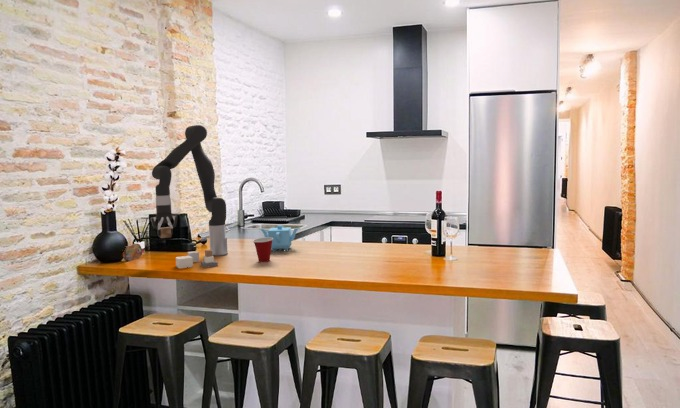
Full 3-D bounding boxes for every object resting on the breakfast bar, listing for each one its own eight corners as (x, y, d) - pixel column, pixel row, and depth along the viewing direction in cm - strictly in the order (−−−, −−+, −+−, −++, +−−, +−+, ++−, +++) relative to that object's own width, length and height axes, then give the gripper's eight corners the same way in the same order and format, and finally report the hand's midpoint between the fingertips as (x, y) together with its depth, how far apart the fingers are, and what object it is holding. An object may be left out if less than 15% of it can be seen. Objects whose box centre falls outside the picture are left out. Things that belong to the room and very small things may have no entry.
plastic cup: (250, 260, 274) (249, 238, 273) (267, 258, 280) (266, 236, 279) (259, 263, 265) (258, 241, 264) (277, 260, 271) (276, 238, 270)
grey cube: (197, 260, 281) (196, 251, 280) (199, 261, 276) (198, 252, 276) (187, 261, 278) (187, 252, 278) (189, 262, 274) (189, 253, 274)
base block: (189, 264, 268) (189, 255, 268) (193, 267, 262) (192, 257, 261) (176, 266, 265) (175, 257, 264) (179, 268, 258) (178, 259, 258)
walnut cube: (169, 236, 273) (169, 226, 273) (171, 237, 269) (170, 227, 268) (159, 237, 271) (159, 227, 270) (161, 238, 266) (160, 228, 266)
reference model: (214, 263, 268) (213, 248, 268) (217, 266, 262) (217, 250, 262) (200, 265, 265) (200, 250, 264) (204, 267, 259) (203, 252, 258)
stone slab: (126, 262, 280) (125, 247, 279) (121, 262, 281) (120, 246, 280) (142, 256, 295) (141, 242, 294) (137, 256, 295) (136, 242, 295)
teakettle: (277, 253, 293) (276, 228, 292) (258, 250, 306) (257, 225, 305) (302, 249, 306) (301, 224, 305) (283, 245, 320) (282, 222, 318)
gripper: (176, 202, 275) (177, 233, 276) (148, 204, 268) (150, 236, 269) (178, 203, 268) (180, 235, 270) (150, 205, 261) (152, 238, 263)
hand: (165, 235), depth 270 cm, fingers closed on walnut cube, 5 cm apart
